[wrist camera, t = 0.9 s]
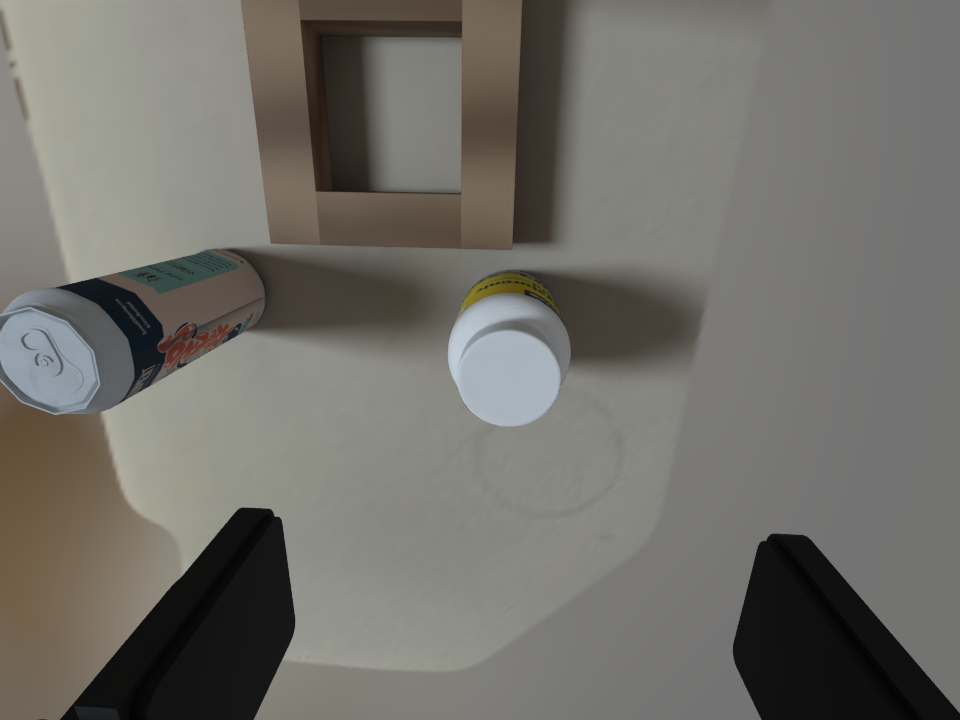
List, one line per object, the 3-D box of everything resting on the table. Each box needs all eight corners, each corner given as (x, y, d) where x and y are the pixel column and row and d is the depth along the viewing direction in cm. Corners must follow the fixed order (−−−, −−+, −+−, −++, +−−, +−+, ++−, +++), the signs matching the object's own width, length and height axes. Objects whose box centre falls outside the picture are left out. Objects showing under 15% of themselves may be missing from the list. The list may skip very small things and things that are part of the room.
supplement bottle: (570, 283, 27) (603, 336, 18) (539, 371, 29) (555, 461, 20) (475, 255, 27) (458, 295, 18) (450, 346, 29) (423, 425, 20)
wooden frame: (262, -28, 23) (234, -52, 21) (522, -27, 22) (524, -52, 20) (291, 238, 27) (270, 243, 25) (511, 243, 26) (512, 249, 24)
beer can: (207, 337, 29) (20, 436, 18) (172, 258, 28) (-56, 311, 16) (282, 320, 29) (137, 411, 17) (250, 238, 27) (69, 279, 16)
